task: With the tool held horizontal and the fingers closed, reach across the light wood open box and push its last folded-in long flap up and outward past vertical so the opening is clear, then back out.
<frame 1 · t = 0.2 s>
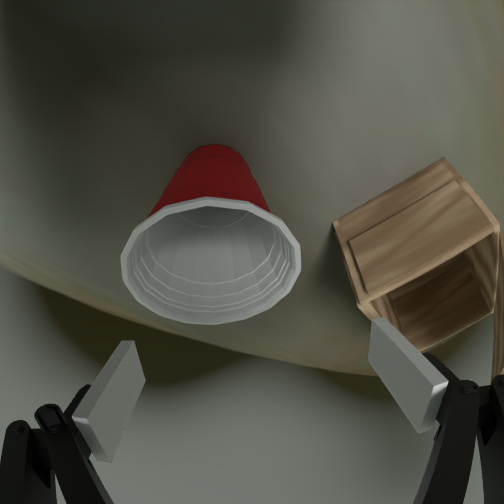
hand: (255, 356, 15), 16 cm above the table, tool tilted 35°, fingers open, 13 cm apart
plastic cup: (217, 170, 26), on the table
light wood open box: (413, 242, 34), on the table
flap: (500, 329, 21), point 15 cm above the table, hinge at -25.0°
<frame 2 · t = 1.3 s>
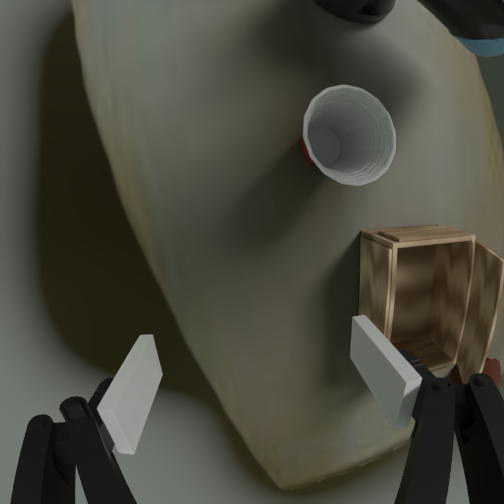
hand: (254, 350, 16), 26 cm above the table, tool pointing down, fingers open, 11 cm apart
plastic cup: (323, 146, 39), on the table
muffin: (465, 367, 49), on the table
light wood open box: (399, 289, 44), on the table
flap: (478, 321, 29), point 15 cm above the table, hinge at -25.0°
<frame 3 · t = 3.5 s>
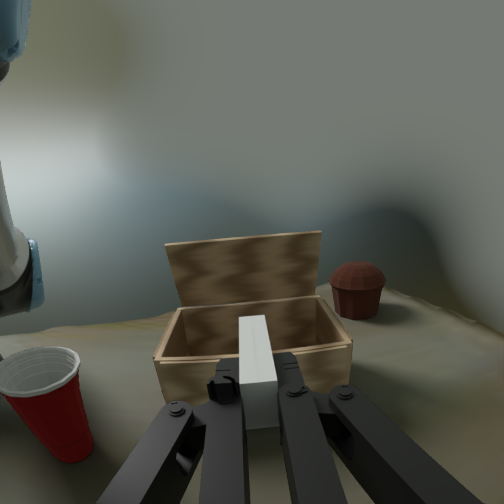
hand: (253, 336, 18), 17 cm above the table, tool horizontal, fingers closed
plastic cup: (74, 447, 25), on the table
muffin: (356, 311, 58), on the table
light wood open box: (256, 390, 37), on the table
flap: (245, 271, 38), point 15 cm above the table, hinge at -25.0°
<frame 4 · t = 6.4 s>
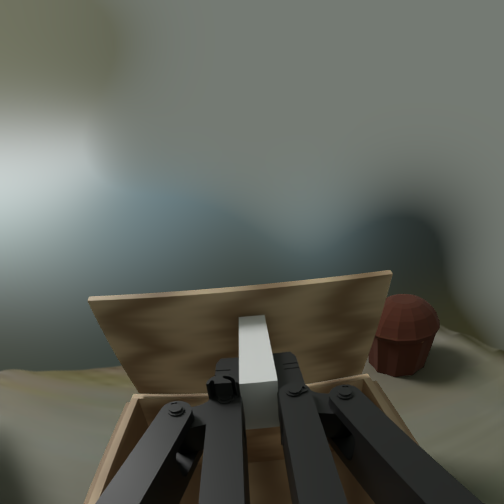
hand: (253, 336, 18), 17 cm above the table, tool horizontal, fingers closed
muffin: (396, 361, 39), on the table
flap: (244, 348, 20), point 15 cm above the table, hinge at -20.4°, touching gripper
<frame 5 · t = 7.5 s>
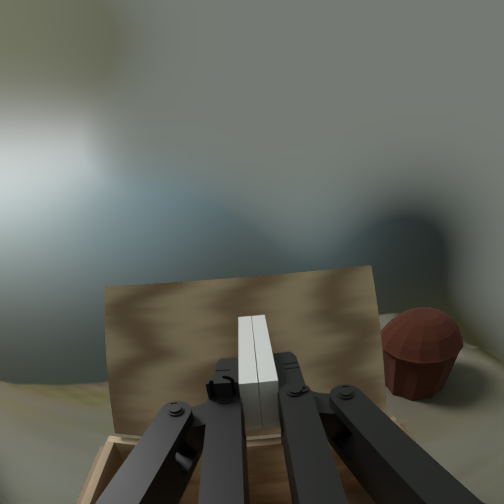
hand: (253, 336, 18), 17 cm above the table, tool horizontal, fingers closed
muffin: (412, 381, 33), on the table
flap: (242, 359, 18), point 15 cm above the table, hinge at 29.4°, touching gripper
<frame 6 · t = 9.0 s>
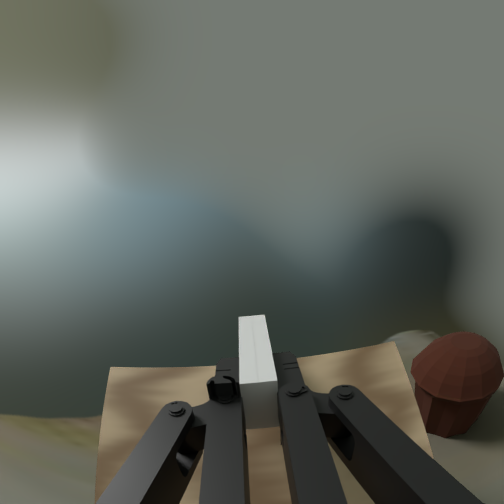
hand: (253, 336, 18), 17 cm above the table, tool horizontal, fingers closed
muffin: (444, 413, 26), on the table
flap: (260, 445, 14), point 13 cm above the table, hinge at 61.8°
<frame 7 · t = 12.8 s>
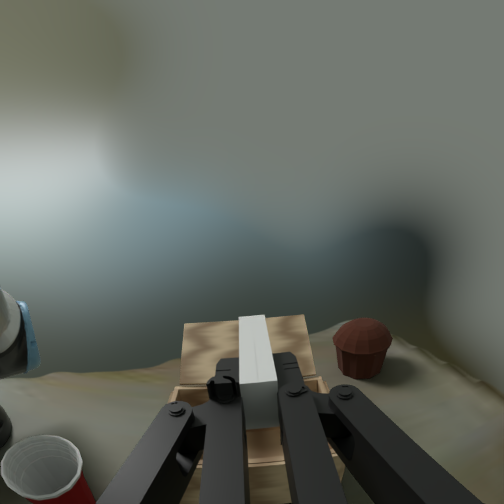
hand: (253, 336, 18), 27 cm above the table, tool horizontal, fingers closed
muffin: (359, 367, 54), on the table
light wood open box: (254, 465, 33), on the table
flap: (245, 349, 42), point 13 cm above the table, hinge at 61.8°
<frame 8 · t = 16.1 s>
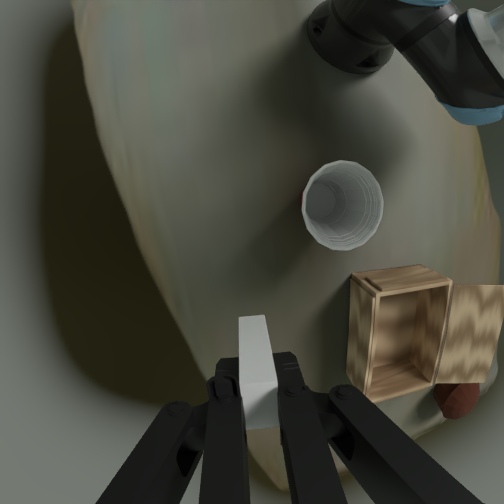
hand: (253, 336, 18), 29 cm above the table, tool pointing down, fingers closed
plastic cup: (319, 200, 46), on the table
muffin: (447, 384, 56), on the table
light wood open box: (384, 321, 50), on the table
flap: (472, 338, 38), point 13 cm above the table, hinge at 61.8°
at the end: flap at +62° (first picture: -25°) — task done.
